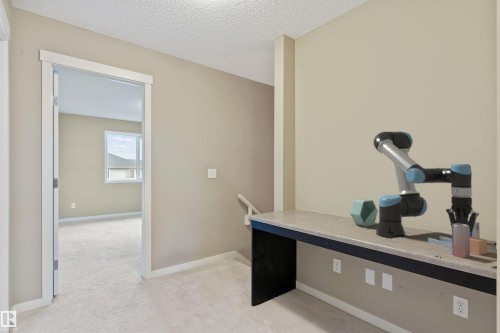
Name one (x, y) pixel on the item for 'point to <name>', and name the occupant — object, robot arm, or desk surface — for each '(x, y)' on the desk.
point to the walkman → (475, 231)
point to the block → (478, 246)
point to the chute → (442, 242)
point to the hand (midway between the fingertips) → (462, 245)
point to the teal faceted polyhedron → (364, 212)
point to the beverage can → (461, 240)
